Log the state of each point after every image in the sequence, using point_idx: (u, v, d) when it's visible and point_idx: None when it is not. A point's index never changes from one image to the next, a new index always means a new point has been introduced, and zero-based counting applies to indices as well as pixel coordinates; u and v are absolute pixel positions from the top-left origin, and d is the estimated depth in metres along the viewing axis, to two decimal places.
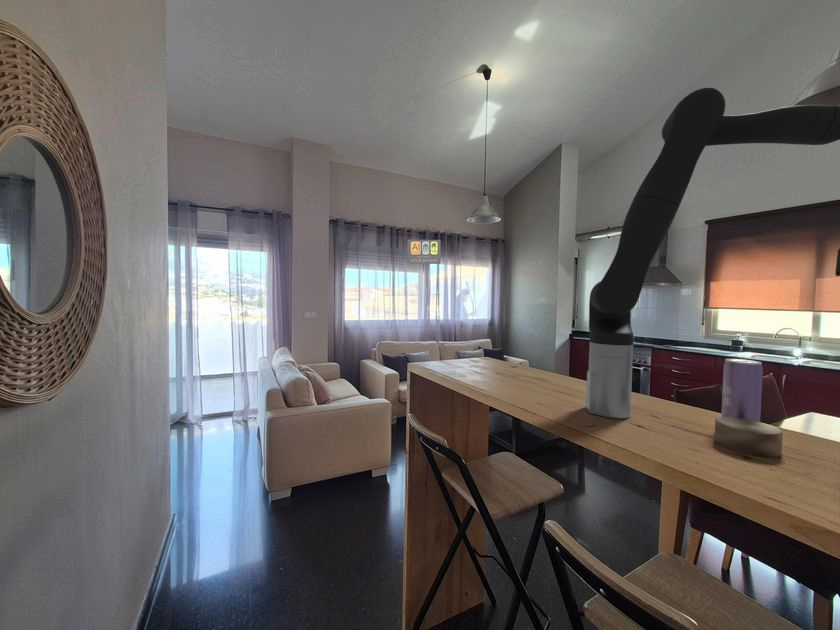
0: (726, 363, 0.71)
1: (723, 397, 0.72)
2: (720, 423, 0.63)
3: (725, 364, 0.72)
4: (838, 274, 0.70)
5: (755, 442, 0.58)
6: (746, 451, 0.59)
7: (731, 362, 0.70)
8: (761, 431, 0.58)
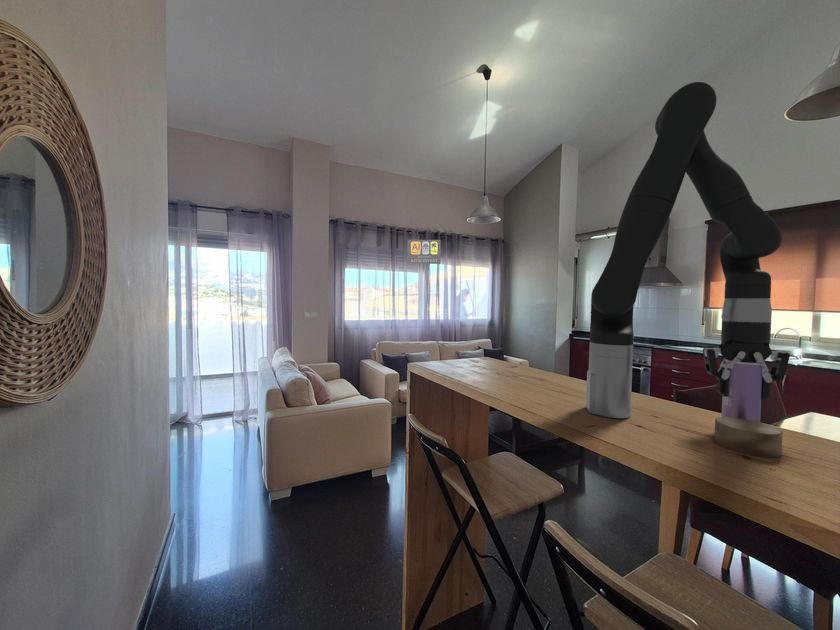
0: (726, 363, 0.71)
1: (723, 397, 0.72)
2: (720, 423, 0.63)
3: (725, 364, 0.72)
4: (716, 374, 0.71)
5: (755, 442, 0.58)
6: (746, 451, 0.59)
7: None
8: (761, 431, 0.58)
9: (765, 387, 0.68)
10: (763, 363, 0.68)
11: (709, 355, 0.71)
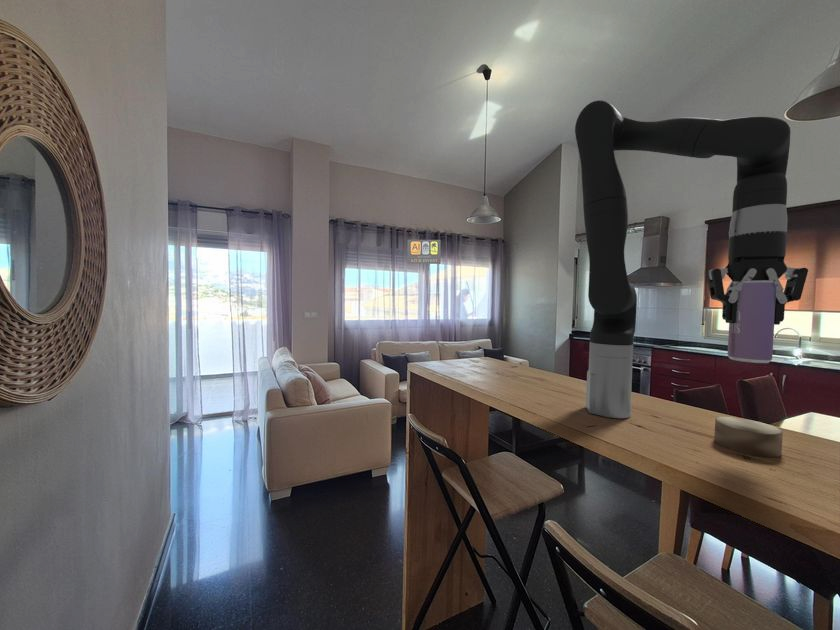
0: (734, 285, 0.62)
1: (730, 325, 0.63)
2: (720, 423, 0.63)
3: None
4: (722, 297, 0.62)
5: (755, 442, 0.58)
6: (746, 451, 0.59)
7: None
8: (761, 431, 0.58)
9: (779, 309, 0.59)
10: (777, 281, 0.59)
11: (714, 276, 0.62)
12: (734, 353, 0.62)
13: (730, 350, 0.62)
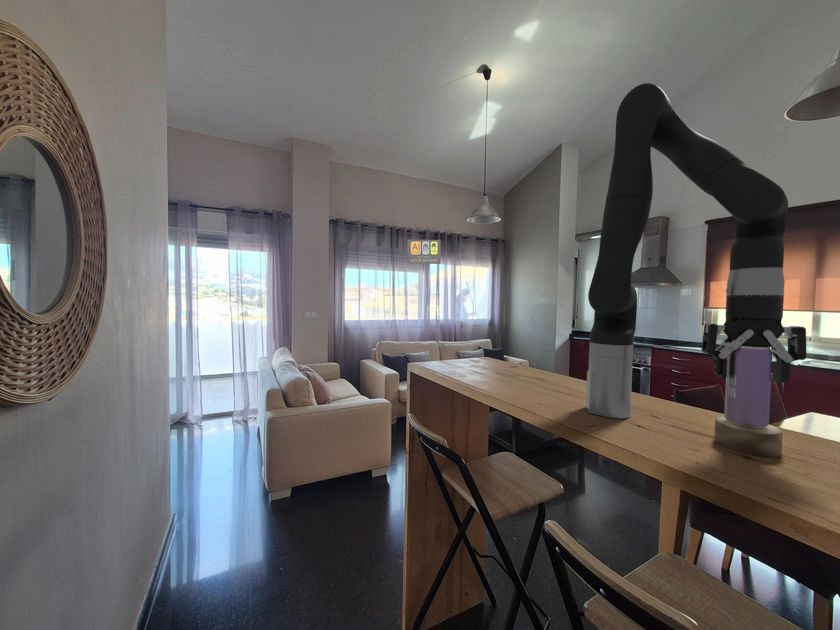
0: None
1: (726, 387, 0.63)
2: (720, 423, 0.63)
3: None
4: (712, 353, 0.62)
5: (755, 442, 0.58)
6: (746, 451, 0.59)
7: None
8: (761, 431, 0.58)
9: (784, 368, 0.59)
10: (777, 341, 0.59)
11: (710, 331, 0.62)
12: (730, 416, 0.62)
13: (727, 413, 0.63)
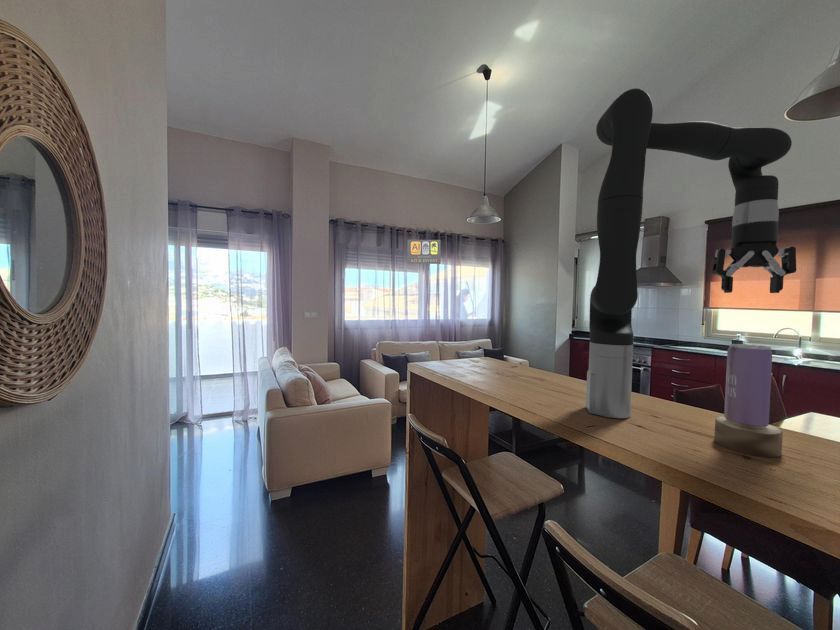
0: (730, 348, 0.62)
1: (727, 387, 0.63)
2: (720, 423, 0.63)
3: (729, 350, 0.63)
4: (721, 272, 0.78)
5: (755, 442, 0.58)
6: (746, 451, 0.59)
7: (736, 347, 0.61)
8: (761, 431, 0.58)
9: (779, 280, 0.74)
10: (773, 259, 0.74)
11: (719, 254, 0.78)
12: (730, 416, 0.62)
13: (727, 413, 0.63)
